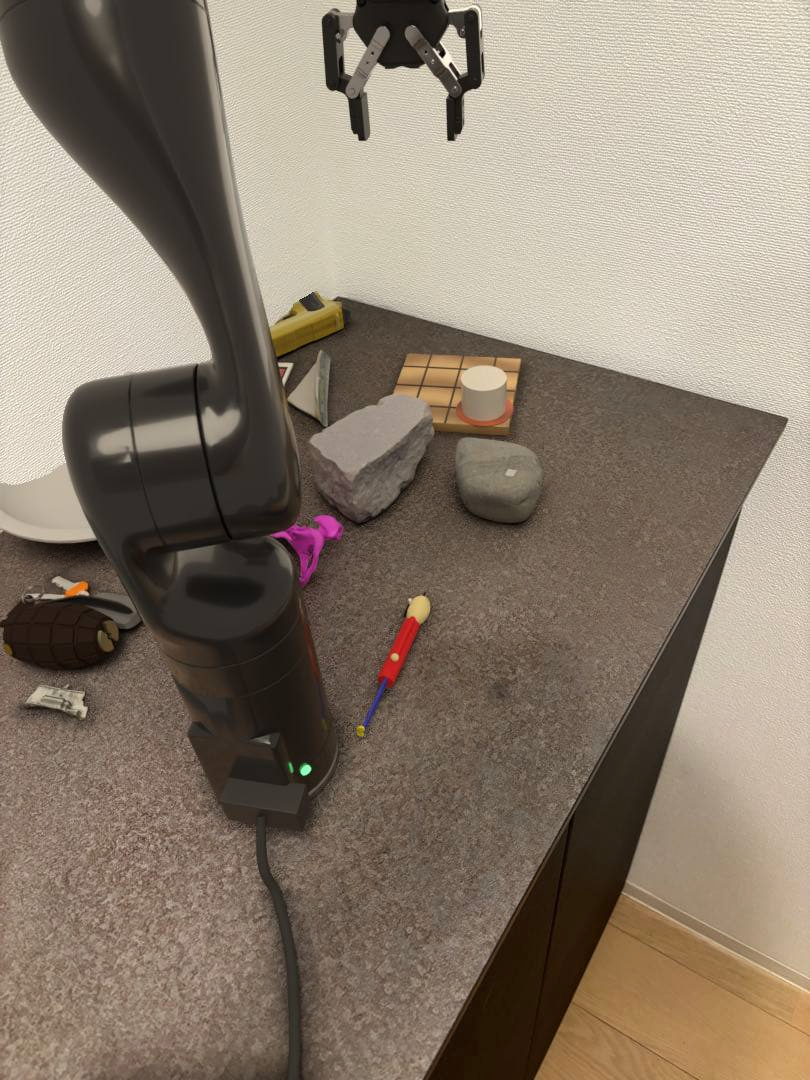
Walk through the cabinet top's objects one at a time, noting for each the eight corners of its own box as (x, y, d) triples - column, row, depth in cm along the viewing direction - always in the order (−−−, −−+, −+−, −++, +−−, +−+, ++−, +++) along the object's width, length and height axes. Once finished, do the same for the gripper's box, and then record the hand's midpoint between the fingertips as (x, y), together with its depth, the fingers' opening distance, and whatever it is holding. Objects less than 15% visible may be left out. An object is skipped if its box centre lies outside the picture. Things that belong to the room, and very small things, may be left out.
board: (509, 437, 87) (510, 427, 86) (384, 428, 89) (383, 419, 89) (522, 367, 97) (522, 358, 96) (408, 361, 99) (407, 352, 98)
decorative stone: (301, 518, 80) (391, 537, 76) (287, 464, 75) (383, 481, 72) (360, 435, 89) (443, 448, 86) (351, 383, 85) (438, 394, 81)
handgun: (309, 295, 114) (360, 322, 107) (193, 341, 105) (240, 374, 98) (307, 279, 112) (359, 305, 105) (189, 324, 104) (236, 356, 97)
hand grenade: (119, 684, 66) (4, 679, 68) (152, 615, 70) (43, 613, 73) (91, 645, 62) (-30, 641, 64) (127, 575, 67) (13, 573, 69)
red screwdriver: (347, 736, 61) (412, 598, 71) (373, 745, 60) (435, 605, 70) (347, 718, 59) (414, 579, 69) (374, 728, 58) (438, 586, 69)
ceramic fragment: (327, 429, 90) (323, 400, 87) (282, 432, 90) (276, 403, 87) (334, 365, 100) (330, 338, 98) (293, 368, 100) (288, 340, 98)
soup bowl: (204, 398, 94) (194, 353, 89) (240, 552, 80) (231, 509, 75) (-12, 437, 89) (-35, 391, 84) (-14, 608, 75) (-42, 566, 69)
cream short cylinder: (503, 422, 87) (504, 391, 84) (458, 419, 88) (457, 389, 85) (508, 396, 90) (509, 366, 87) (464, 394, 91) (464, 364, 88)
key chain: (122, 623, 68) (127, 636, 69) (151, 598, 71) (156, 611, 71) (19, 594, 73) (25, 606, 74) (50, 571, 76) (55, 583, 77)
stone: (548, 462, 83) (548, 418, 74) (538, 542, 80) (537, 508, 71) (464, 455, 85) (453, 411, 76) (451, 533, 82) (439, 498, 73)
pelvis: (267, 525, 79) (253, 474, 74) (350, 550, 76) (342, 498, 71) (195, 610, 72) (176, 558, 67) (285, 642, 68) (270, 590, 64)
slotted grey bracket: (6, 701, 63) (23, 667, 65) (21, 712, 65) (37, 680, 67) (74, 710, 62) (89, 675, 63) (87, 721, 64) (101, 688, 65)
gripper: (298, -65, 62) (325, 152, 74) (477, -74, 60) (477, 152, 71) (323, -79, 68) (346, 126, 79) (489, -88, 65) (488, 125, 76)
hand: (408, 138), depth 75 cm, fingers open, 8 cm apart
